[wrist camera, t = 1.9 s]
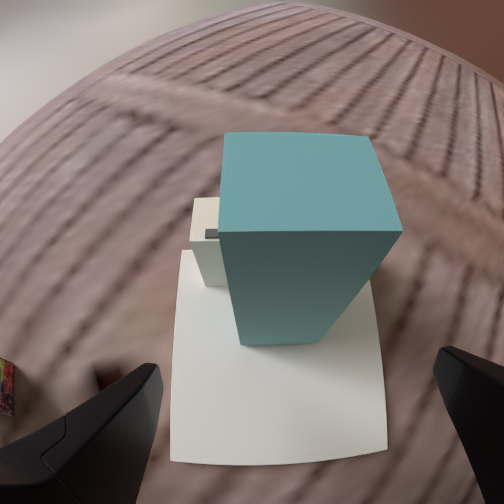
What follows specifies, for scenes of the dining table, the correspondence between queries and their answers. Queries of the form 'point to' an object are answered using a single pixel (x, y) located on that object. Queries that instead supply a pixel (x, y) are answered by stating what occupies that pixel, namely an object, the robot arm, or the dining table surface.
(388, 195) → the tall teal pillar
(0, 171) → the dining table surface
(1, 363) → the snack box
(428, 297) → the dining table surface
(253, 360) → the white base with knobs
